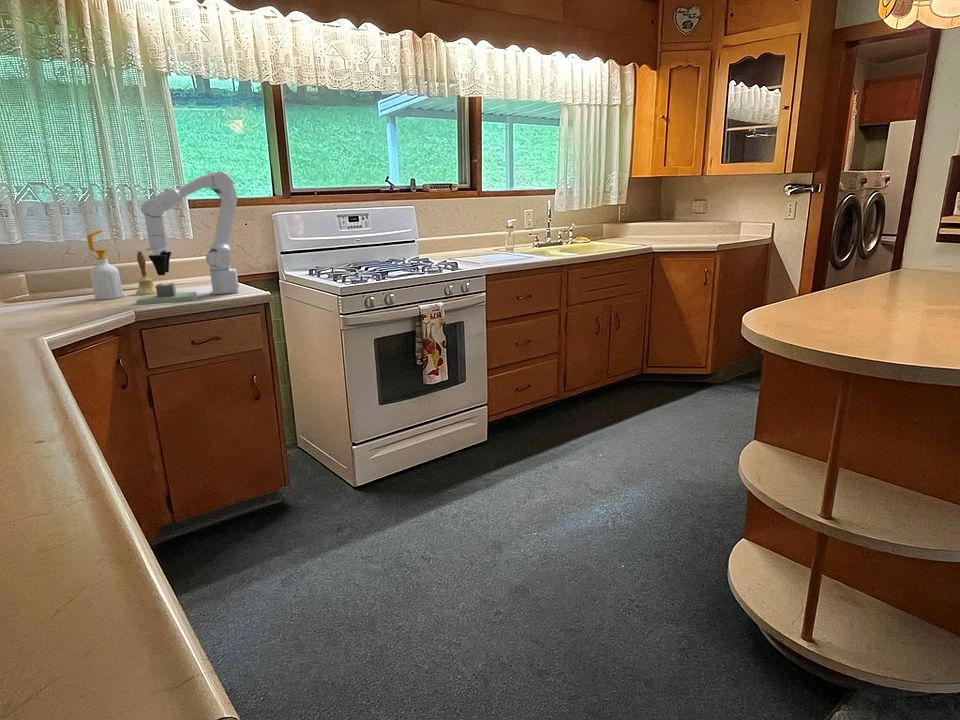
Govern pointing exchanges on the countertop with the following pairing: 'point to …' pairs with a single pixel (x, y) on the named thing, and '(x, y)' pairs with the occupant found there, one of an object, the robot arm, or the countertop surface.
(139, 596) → the countertop surface
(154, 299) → the post board
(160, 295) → the collar
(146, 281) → the hand bell
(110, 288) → the soap bottle
